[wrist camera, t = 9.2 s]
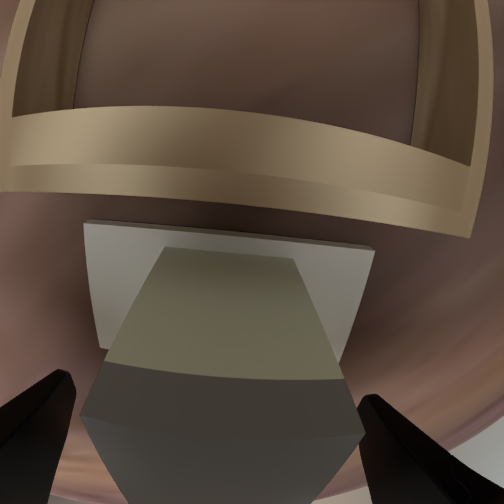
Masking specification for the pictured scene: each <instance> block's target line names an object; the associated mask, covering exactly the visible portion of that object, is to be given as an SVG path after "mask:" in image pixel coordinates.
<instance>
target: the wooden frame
mask: <svg viewBox="0 0 504 504" xmlns="http://www.w3.org/2000/svg"><path fill="white" fill-rule="evenodd" d="M93 2H94V0H20V3H19V6H18V9H17V12H16V15H15V18H14V22H13V25H12V29H11V32H10V36H9V40H8V44H7V49H6V53H5V58H4V63H3V68H2V74H1V80H0V192H57V193H87V194H109V195H127V196H143V197H158V198H172V199H185V200H197V201H208V202H219V203H229V204H239V205H249V206H258V207H267V208H276V209H285V210H293V211H301V212H309V213H317V214H324V215H331V216H339V217H346V218H353V219H359V220H366V221H373V222H379V223H385V224H392V225H398V226H404V227H410V228H416V229H421V230H427V231H433V232H438V233H444V234H449V235H454V236H459V237H464V238H469V239H470V236H471V232H472V228H473V225H474V221H475V217H476V213H477V209H478V205H479V200H480V196H481V191H482V186H483V181H484V175H485V170H486V164H487V157H488V150H489V142H490V133H491V123H492V109H493V46H492V33H491V23H490V15H489V8H488V1H487V0H419V64H418V81H417V93H416V104H415V113H414V122H413V129H412V137H411V144H410V146H409V145H406V144H403V143H399V142H396V141H392V140H389V139H385V138H382V137H378V136H374V135H370V134H366V133H362V132H358V131H354V130H350V129H345V128H341V127H336V126H332V125H327V124H322V123H317V122H311V121H306V120H300V119H295V118H288V117H282V116H275V115H268V114H261V113H253V112H244V111H235V110H224V109H212V108H197V107H176V106H115V107H95V108H81V109H73V103H74V94H75V87H76V80H77V73H78V67H79V61H80V56H81V51H82V46H83V41H84V37H85V32H86V28H87V24H88V20H89V16H90V12H91V9H92V5H93Z"/></svg>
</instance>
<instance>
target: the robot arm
mask: <svg viewBox="0 0 504 504" xmlns="http://www.w3.org/2000/svg"><path fill="white" fill-rule="evenodd" d="M75 399H76V388H75V385H74V382H73V380H72V377H71V374H70V373H69V372H68V371H64V370H61V369H57V370H55V371H54V372H52V373H51V374H49V375H48V376H46V377H45V378H43V379H42V380H40V381H39V382H37V383H36V384H34V385H33V386H31V387H30V388H28V389H27V390H25V391H24V392H22V393H21V394H19V395H18V396H16V397H15V398H13V399H12V400H10V401H9V402H7V403H6V404H5V405H3V406H2V407H0V504H47V503H48V499H49V495H50V491H51V487H52V484H53V480H54V476H55V473H56V469H57V466H58V463H59V459H60V456H61V453H62V450H63V447H64V444H65V441H66V437H67V434H68V429H69V425H70V420H71V416H72V411H73V407H74V403H75ZM357 411H358V414H359V417H360V419H361V422H362V424H363V427H364V430H365V432H366V433H365V435H364V436H363V438H362V439H361V441H360V442H359V449H360V455H361V460H362V464H363V468H364V472H365V475H366V479H367V483H368V487H369V491H370V495H371V500H372V503H373V504H504V488H502V487H500V486H498V485H497V484H495V483H493V482H492V481H490V480H488V479H486V478H485V477H483V476H481V475H480V474H478V473H477V472H475V471H473V470H472V469H470V468H469V467H468V466H466V465H465V464H463V463H462V462H461V461H459V460H458V459H457V458H455V457H454V456H453V455H451V454H450V453H449V452H448V451H446V450H445V449H444V448H443V447H441V446H440V445H439V444H438V443H436V442H435V441H434V440H433V439H431V438H430V437H429V436H428V435H426V434H425V433H424V432H423V431H421V430H420V429H419V428H418V427H416V426H415V425H414V424H413V423H412V422H410V421H409V420H408V419H407V418H405V417H404V416H403V415H402V414H401V413H399V412H398V411H397V410H396V409H394V408H393V407H392V406H391V405H390V404H388V403H387V402H386V401H385V400H384V399H382V398H381V397H380V396H379V395H377V394H369V395H365V396H364V397H363V398H362V400H361V402H360V404H359V406H358V407H357Z"/></svg>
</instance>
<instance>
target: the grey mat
mask: <svg viewBox="0 0 504 504" xmlns="http://www.w3.org/2000/svg"><path fill="white" fill-rule="evenodd" d="M83 224H84V240H85V252H86V263H87V272H88V280H89V288H90V295H91V302H92V308H93V314H94V320H95V325H96V331H97V336H98V341H99V345H100V348H104V349H110V347H111V345H112V343H113V341H114V339H115V337H116V335H117V333H118V331H119V329H120V327H121V325H122V323H123V321H124V319H125V317H126V315H127V313H128V311H129V310H130V308H131V306H132V304H133V302H134V300H135V298H136V296H137V295H138V293H139V291H140V289H141V287H142V285H143V284H144V282H145V280H146V278H147V276H148V275H149V273H150V271H151V269H152V267H153V266H154V264H155V262H156V260H157V259H158V257H159V255H160V254H161V252H162V250H163V248H164V247H165V246H166V247H176V248H187V249H198V250H208V251H219V252H229V253H240V254H251V255H261V256H272V257H283V258H293V259H294V261H295V264H296V266H297V268H298V270H299V273H300V275H301V277H302V279H303V282H304V284H305V286H306V288H307V291H308V293H309V295H310V298H311V300H312V302H313V304H314V307H315V309H316V311H317V314H318V316H319V318H320V321H321V323H322V325H323V328H324V330H325V333H326V335H327V337H328V340H329V342H330V344H331V347H332V349H333V352H334V354H335V357H336V359H337V361H338V364H339V361H340V359H341V356H342V353H343V351H344V348H345V345H346V343H347V340H348V337H349V334H350V331H351V328H352V326H353V323H354V320H355V317H356V314H357V311H358V308H359V304H360V301H361V298H362V295H363V292H364V288H365V285H366V282H367V278H368V275H369V271H370V268H371V264H372V261H373V257H374V253H375V250H373V249H372V248H371V247H370V246H366V245H358V244H349V243H340V242H331V241H322V240H313V239H304V238H295V237H285V236H276V235H266V234H256V233H246V232H236V231H225V230H215V229H204V228H193V227H182V226H170V225H159V224H147V223H135V222H122V221H109V220H96V219H89V220H87V221H86V222H84V223H83Z"/></svg>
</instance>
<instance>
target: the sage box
mask: <svg viewBox="0 0 504 504" xmlns="http://www.w3.org/2000/svg"><path fill="white" fill-rule="evenodd" d="M80 417H81V419H82V422H83V424H84V426H85V428H86V430H87V432H88V434H89V436H90V438H91V440H92V442H93V444H94V446H95V448H96V450H97V452H98V454H99V455H100V457H101V459H102V461H103V463H104V464H105V466H106V468H107V470H108V471H109V473H110V475H111V476H112V478H113V480H114V481H115V483H116V484H117V486H118V488H119V489H120V491H121V492H122V494H123V495H124V497H125V498H126V500H127V501H128V503H129V504H311V503H312V501H314V499H315V498H316V497H317V496H318V495H319V494H320V493H321V491H322V490H323V489H324V488H325V487H326V485H327V484H328V483H329V482H330V481H331V479H332V478H333V477H334V476H335V474H336V473H337V472H338V471H339V469H340V468H341V467H342V465H343V464H344V463H345V461H346V460H347V459H348V457H349V456H350V455H351V453H352V452H353V451H354V449H355V448H356V446H357V445H358V444H359V442H360V441H361V439H362V438H363V436H364V435H365V433H366V432H365V430H364V427H363V424H362V422H361V419H360V417H359V414H358V411H357V409H356V406H355V404H354V401H353V399H352V396H351V394H350V391H349V389H348V386H347V384H346V381H345V379H344V376H343V374H342V371H341V369H340V366H339V364H338V361H337V359H336V357H335V354H334V352H333V349H332V347H331V344H330V342H329V340H328V337H327V335H326V333H325V330H324V328H323V325H322V323H321V321H320V318H319V316H318V314H317V311H316V309H315V307H314V304H313V302H312V300H311V298H310V295H309V293H308V291H307V288H306V286H305V284H304V282H303V279H302V277H301V275H300V273H299V270H298V268H297V266H296V264H295V261H294V259H293V258H283V257H272V256H261V255H251V254H240V253H229V252H219V251H208V250H198V249H187V248H176V247H166V246H165V247H164V248H163V250H162V252H161V254H160V255H159V257H158V259H157V260H156V262H155V264H154V266H153V267H152V269H151V271H150V273H149V275H148V276H147V278H146V280H145V282H144V284H143V285H142V287H141V289H140V291H139V293H138V295H137V296H136V298H135V300H134V302H133V304H132V306H131V308H130V310H129V311H128V313H127V315H126V317H125V319H124V321H123V323H122V325H121V327H120V329H119V331H118V333H117V335H116V337H115V339H114V341H113V343H112V345H111V347H110V349H109V351H108V353H107V355H106V357H105V359H104V361H103V364H102V366H101V368H100V370H99V372H98V374H97V376H96V379H95V381H94V383H93V385H92V387H91V390H90V392H89V394H88V396H87V399H86V401H85V403H84V406H83V408H82V410H81V413H80Z"/></svg>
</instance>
